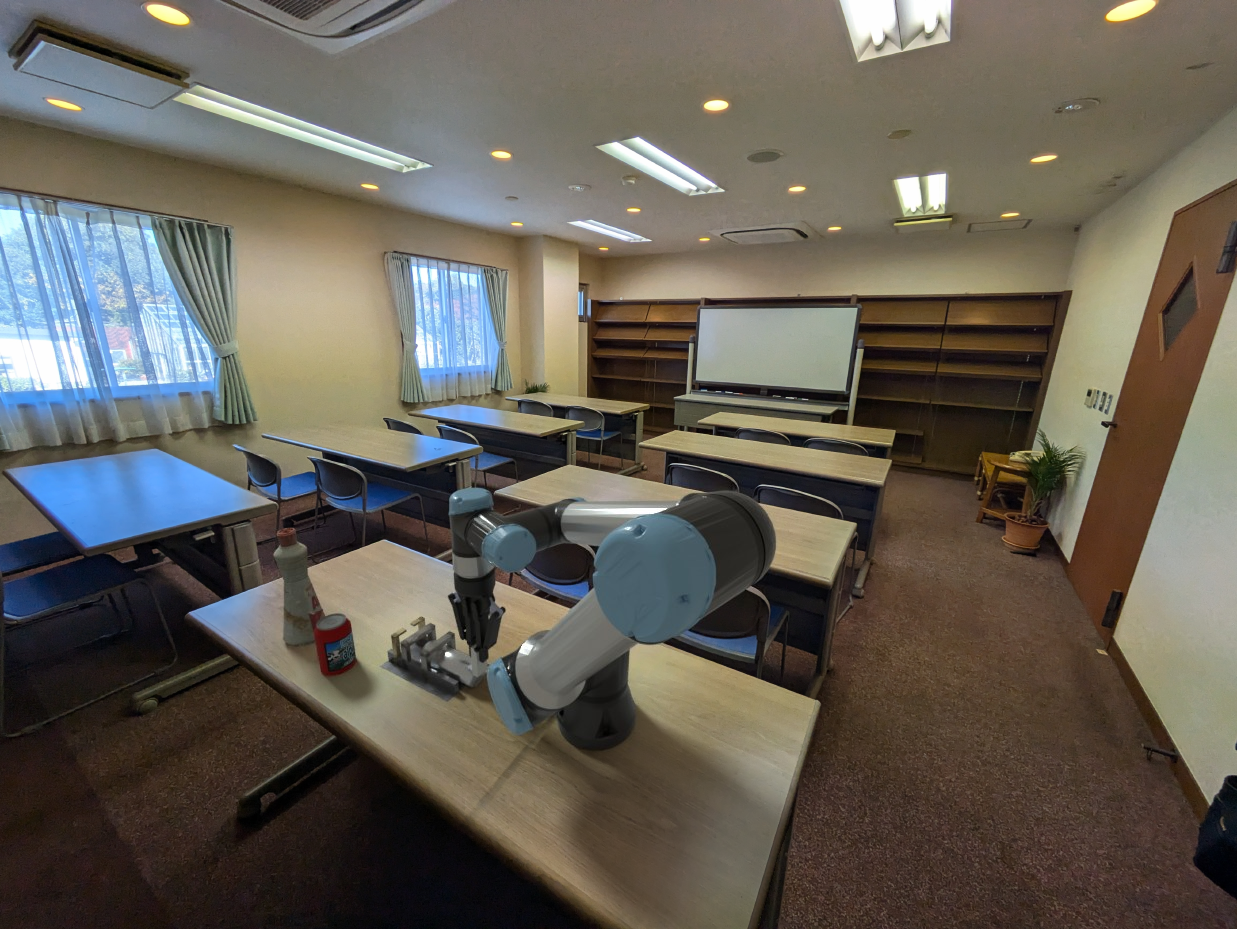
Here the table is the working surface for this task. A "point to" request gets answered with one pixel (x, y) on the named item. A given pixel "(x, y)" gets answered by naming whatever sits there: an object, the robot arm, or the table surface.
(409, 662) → the grey slotted rack
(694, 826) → the table surface
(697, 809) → the table surface
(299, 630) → the bottle
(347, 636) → the beverage can
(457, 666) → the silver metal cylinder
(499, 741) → the table surface
